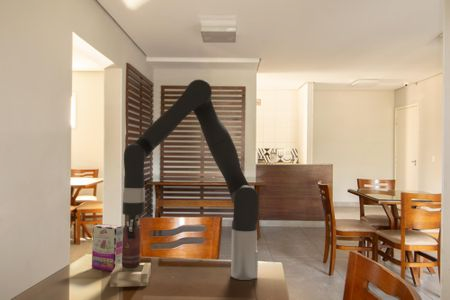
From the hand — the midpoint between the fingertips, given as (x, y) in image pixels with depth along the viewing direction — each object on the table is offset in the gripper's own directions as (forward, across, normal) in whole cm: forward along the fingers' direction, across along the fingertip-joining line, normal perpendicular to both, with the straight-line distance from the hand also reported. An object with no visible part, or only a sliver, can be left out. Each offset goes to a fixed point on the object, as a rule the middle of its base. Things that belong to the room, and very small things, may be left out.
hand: (132, 249), depth 118 cm
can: (+6, 0, 0) cm, 6 cm away
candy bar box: (+11, +13, +11) cm, 20 cm away
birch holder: (+10, 0, 0) cm, 10 cm away
